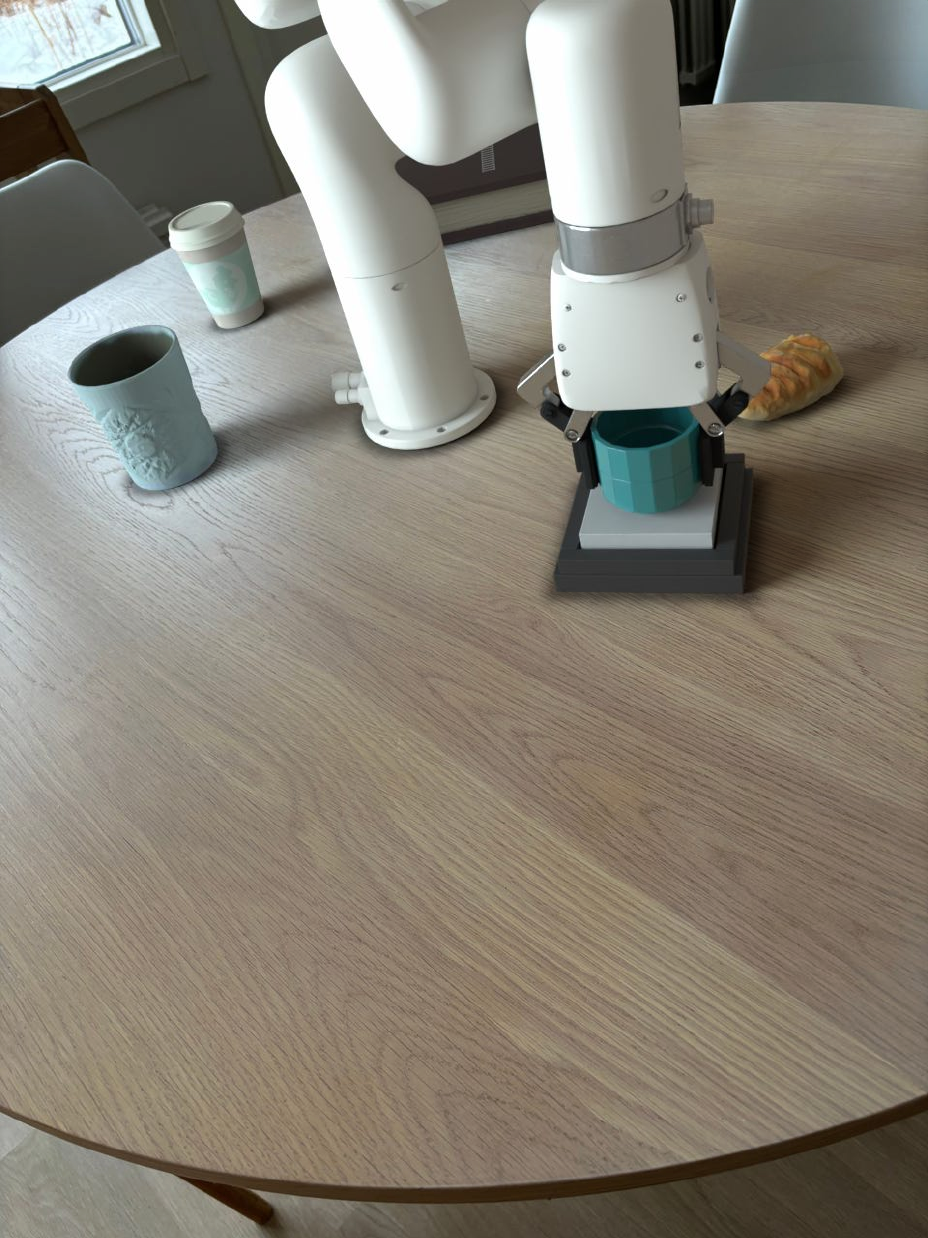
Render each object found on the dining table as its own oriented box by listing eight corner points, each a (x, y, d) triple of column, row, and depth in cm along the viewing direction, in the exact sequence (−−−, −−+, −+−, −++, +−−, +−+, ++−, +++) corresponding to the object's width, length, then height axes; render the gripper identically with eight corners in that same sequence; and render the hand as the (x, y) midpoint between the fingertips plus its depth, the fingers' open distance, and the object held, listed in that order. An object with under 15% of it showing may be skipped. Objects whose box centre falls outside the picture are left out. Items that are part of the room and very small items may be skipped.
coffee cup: (192, 335, 117) (148, 235, 109) (229, 298, 123) (190, 200, 115) (252, 335, 114) (211, 232, 106) (288, 297, 119) (252, 196, 111)
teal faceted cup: (594, 519, 70) (582, 453, 66) (609, 457, 75) (599, 392, 71) (700, 518, 68) (694, 449, 64) (709, 454, 72) (704, 386, 69)
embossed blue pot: (192, 423, 102) (141, 315, 94) (247, 451, 96) (197, 337, 88) (107, 477, 98) (46, 369, 90) (159, 510, 92) (99, 396, 84)
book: (556, 157, 132) (549, 110, 128) (569, 217, 118) (561, 166, 114) (350, 205, 136) (337, 160, 132) (338, 268, 122) (323, 220, 118)
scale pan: (581, 551, 71) (578, 534, 70) (601, 473, 77) (599, 456, 76) (713, 551, 68) (712, 533, 67) (723, 470, 74) (722, 452, 73)
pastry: (774, 438, 80) (773, 396, 77) (708, 413, 84) (705, 372, 82) (849, 382, 83) (851, 340, 80) (782, 360, 87) (781, 320, 85)
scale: (555, 591, 72) (549, 560, 70) (583, 488, 80) (578, 457, 78) (743, 594, 68) (742, 561, 66) (753, 484, 76) (752, 451, 74)
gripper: (781, 184, 58) (784, 439, 70) (493, 218, 64) (540, 448, 76) (776, 243, 53) (780, 507, 65) (464, 274, 59) (519, 512, 71)
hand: (651, 474), depth 70 cm, fingers closed on teal faceted cup, 7 cm apart
